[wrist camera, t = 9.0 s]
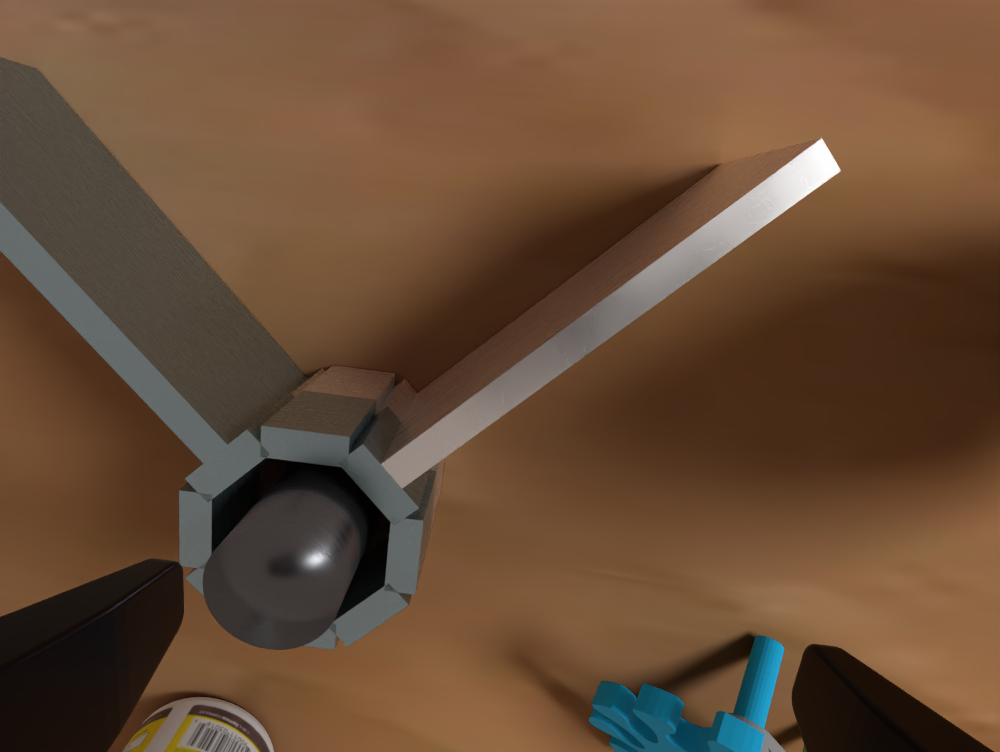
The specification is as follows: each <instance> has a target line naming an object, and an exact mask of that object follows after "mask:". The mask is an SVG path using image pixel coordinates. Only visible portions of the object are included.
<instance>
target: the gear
mask: <svg viewBox="0 0 1000 752" xmlns="http://www.w3.org/2000/svg"><path fill="white" fill-rule="evenodd" d="M783 653H784V647H783V646H782V645H781V644H780V643H779V642H777V641H775V640H774V639H771V638H769V637H766V636H756V637H755V640H754V643H753V646H752V650H751V653H750V657H749V660H748V664H747V667H746V671H745V674H744V678H743V681H742V685H741V688H740V692H739V695H738V699H737V702H736V705H735V709H734V712H733V714H732V713H726V712H722V711H720V712H717V713H716V716H715V719H714V722H713V725H712V727H708V728H703V727H699V726H696V725H694V724H692V723H690V722H688V721H686V720H684V719H683V718H681V717H680V716H681V713H682V710H683V708H684V703H683V702H682V701H681V700H680V699H679V698H678V697H677V696H675V695H673V694H671V693H669V692H667V691H664V690H662V689H659V688H657V687H654V686H651V685H648V684H645V683H643V684H642V687H641V689H640V692H639V695H638V697H637V698H636V696H635V695H634V694H633V693H632V692H631V691H630V690H629V689H627V688H626V687H624V686H623V685H621V684H618V683H614V682H609V681H601V682H600V685H599V687H598V689H597V692H596V694H595V697H594V699H593V701H592V704H591V705H592V706H593V707H594V708H593V711H592V713H591V716H590V718H589V723H591V724H592V725H593V726H595V727H596V728H598V729H600V730H601V731H603V732H605V733H607V734H609V735H611V739H610V741H609V744H610V745H611V747H612V748H613V749H614V750H615V751H616V752H786V751H785V750H784V749H783V748H782V747H781V746H780V745H779V744H778V742H777V741H776V740H775V739H774V738H773V737H772V736H771V735H770V734H769V733H768V732H767V731H766V730H765V729H764V727H765V723H766V719H767V715H768V711H769V707H770V703H771V700H772V696H773V692H774V688H775V684H776V680H777V676H778V672H779V668H780V664H781V660H782V657H783ZM803 752H806V749H805V745H804V748H803Z"/></svg>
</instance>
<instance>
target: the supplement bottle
mask: <svg viewBox="0 0 1000 752" xmlns="http://www.w3.org/2000/svg"><path fill="white" fill-rule="evenodd" d="M122 752H274V750H273V746H272V743H271V740H270V738H269V736H268V734H267V732H266V730H265V729H264V727H263V726H262V725H261V724H260V722H259V721H258V720H257V719H256V718H254V717H253V716H252V715H251V714H250V713H248V712H247V711H245V710H244V709H242V708H240V707H239V706H237V705H235V704H233V703H230V702H227V701H224V700H220V699H215V698H208V697H191V698H185V699H181V700H177V701H174V702H171V703H169V704H167V705H165V706H163V707H161V708H159V709H158V710H156V711H155V712H154V713H152V714H151V715H150V716H149V717H148V718H147V719H146V720H145V721H144V722H143V723H142V725H141V726H140V727H139V729H138V730H137V731H136V733H135V734H134V735H133V737H132V738H131V740H130V741H129V742H128V744H127V745H126V747H125V748H124V749H123V751H122Z"/></svg>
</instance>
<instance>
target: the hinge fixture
mask: <svg viewBox="0 0 1000 752" xmlns="http://www.w3.org/2000/svg"><path fill="white" fill-rule="evenodd" d="M840 171H841V170H840V168H839V167H838V165H837V163H836V162H835V160H834V158H833V157H832V155H831V153H830V151H829V150H828V148H827V146H826V145H825V143H824V141H823V140H822V138H821V139H817V140H813V141H809V142H805V143H801V144H797V145H793V146H789V147H785V148H781V149H777V150H773V151H769V152H765V153H761V154H757V155H754V156H750V157H746V158H742V159H738V160H734V161H730V162H726V163H722V164H720V165H719V166H718V167H716V168H715V169H714V170H712V171H711V172H710V173H708V174H707V175H706V176H704V177H703V178H702V179H700V180H699V181H698V182H696V183H695V184H694V185H693V186H691V187H690V188H689V189H687V190H686V191H685V192H683V193H682V194H681V195H679V196H678V197H677V198H675V199H674V200H673V201H671V202H670V203H669V204H667V205H666V206H665V207H663V208H662V209H661V210H659V211H658V212H657V213H655V214H654V215H653V216H651V217H650V218H649V219H647V220H646V221H645V222H644V223H642V224H641V225H640V226H638V227H637V228H636V229H634V230H633V231H632V232H630V233H629V234H628V235H626V236H625V237H624V238H622V239H621V240H620V241H618V242H617V243H616V244H614V245H613V246H612V247H610V248H609V249H608V250H606V251H605V252H604V253H602V254H601V255H600V256H598V257H597V258H596V259H595V260H593V261H592V262H591V263H589V264H588V265H587V266H585V267H584V268H583V269H581V270H580V271H579V272H577V273H576V274H575V275H573V276H572V277H571V278H569V279H568V280H567V281H565V282H564V283H563V284H561V285H560V286H559V287H557V288H556V289H555V290H553V291H552V292H551V293H549V294H548V295H547V296H546V297H544V298H543V299H542V300H540V301H539V302H538V303H536V304H535V305H534V306H532V307H531V308H530V309H528V310H527V311H526V312H524V313H523V314H522V315H520V316H519V317H518V318H516V319H515V320H514V321H512V322H511V323H510V324H508V325H507V326H506V327H504V328H503V329H502V330H500V331H499V332H498V333H497V334H495V335H494V336H493V337H491V338H490V339H489V340H487V341H486V342H485V343H483V344H482V345H481V346H479V347H478V348H477V349H475V350H474V351H473V352H471V353H470V354H469V355H467V356H466V357H465V358H463V359H462V360H461V361H459V362H458V363H457V364H455V365H454V366H453V367H451V368H450V369H449V370H448V371H446V372H445V373H444V374H442V375H441V376H440V377H438V378H437V379H436V380H434V381H433V382H432V383H430V384H429V385H428V386H426V387H425V388H424V389H422V390H421V391H420V392H418V393H417V392H416V391H415V390H414V389H413V388H412V386H411V385H410V384H409V383H408V382H407V380H406V379H404V380H402V381H401V382H400V383H398V384H397V385H396V386H394V384H395V373H389V372H381V371H373V370H366V369H358V368H350V367H342V366H335V365H332V366H331V367H330V368H329V369H328V370H327V371H325V370H324V369H323V368H322V369H321V370H319V371H318V372H317V373H316V374H314V375H313V376H312V377H311V378H309V379H308V378H307V377H306V376H305V375H304V374H303V373H302V372H301V370H300V369H299V368H298V367H297V366H296V365H295V364H294V362H293V361H292V360H291V359H290V358H289V357H288V356H287V354H286V353H285V352H284V351H283V350H282V349H281V348H280V346H279V345H278V344H277V343H276V342H275V341H274V340H273V338H272V337H271V336H270V335H269V334H268V333H267V332H266V330H265V329H264V328H263V327H262V326H261V325H260V324H259V322H258V321H257V320H256V319H255V318H254V317H253V316H252V314H251V313H250V312H249V311H248V310H247V309H246V308H245V306H244V305H243V304H242V303H241V302H240V301H239V300H238V298H237V297H236V296H235V295H234V294H233V293H232V292H231V290H230V289H229V288H228V287H227V286H226V285H225V284H224V282H223V281H222V280H221V279H220V278H219V277H218V276H217V274H216V273H215V272H214V271H213V270H212V269H211V268H210V266H209V265H208V264H207V263H206V262H205V261H204V260H203V258H202V257H201V256H200V255H199V254H198V253H197V252H196V250H195V249H194V248H193V247H192V246H191V245H190V244H189V242H188V241H187V240H186V239H185V238H184V237H183V236H182V234H181V233H180V232H179V231H178V230H177V229H176V228H175V226H174V225H173V224H172V223H171V222H170V221H169V220H168V218H167V217H166V216H165V215H164V214H163V213H162V212H161V210H160V209H159V208H158V207H157V206H156V205H155V204H154V202H153V201H152V200H151V199H150V198H149V197H148V196H147V194H146V193H145V192H144V191H143V190H142V189H141V188H140V186H139V185H138V184H137V183H136V182H135V181H134V180H133V178H132V177H131V176H130V175H129V174H128V173H127V172H126V170H125V169H124V168H123V167H122V166H121V165H120V164H119V162H118V161H117V160H116V159H115V158H114V157H113V156H112V154H111V153H110V152H109V151H108V150H107V149H106V148H105V146H104V145H103V144H102V143H101V142H100V141H99V140H98V138H97V137H96V136H95V135H94V134H93V133H92V132H91V130H90V129H89V128H88V127H87V126H86V125H85V124H84V122H83V121H82V120H81V119H80V118H79V117H78V116H77V114H76V113H75V112H74V111H73V110H72V109H71V108H70V106H69V105H68V104H67V103H66V102H65V101H64V100H63V98H62V97H61V96H60V95H59V94H58V93H57V92H56V90H55V89H54V88H53V87H52V86H51V85H50V84H49V82H48V81H47V80H46V79H45V78H44V77H43V76H42V74H41V73H40V72H39V71H38V70H37V69H36V68H33V67H30V66H27V65H24V64H20V63H17V62H14V61H11V60H8V59H5V58H2V57H0V251H1V252H2V253H3V254H4V255H5V256H6V257H7V258H8V259H9V260H10V261H11V262H12V263H13V264H14V265H15V267H16V268H17V269H18V270H19V271H20V272H21V273H22V274H23V275H24V276H25V277H26V278H27V279H28V280H29V281H30V282H31V283H32V284H33V285H34V286H35V288H36V289H37V290H38V291H39V292H40V293H41V294H42V295H43V296H44V297H45V298H46V299H47V300H48V301H49V302H50V303H51V304H52V305H53V306H54V307H55V308H56V310H57V311H58V312H59V313H60V314H61V315H62V316H63V317H64V318H65V319H66V320H67V321H68V322H69V323H70V324H71V325H72V326H73V327H74V328H75V329H76V331H77V332H78V333H79V334H80V335H81V336H82V337H83V338H84V339H85V340H86V341H87V342H88V343H89V344H90V345H91V346H92V347H93V348H94V349H95V350H96V351H97V353H98V354H99V355H100V356H101V357H102V358H103V359H104V360H105V361H106V362H107V363H108V364H109V365H110V366H111V367H112V368H113V369H114V370H115V371H116V372H117V373H118V375H119V376H120V377H121V378H122V379H123V380H124V381H125V382H126V383H127V384H128V385H129V386H130V387H131V388H132V389H133V390H134V391H135V392H136V393H137V394H138V396H139V397H140V398H141V399H142V400H143V401H144V402H145V403H146V404H147V405H148V406H149V407H150V408H151V409H152V410H153V411H154V412H155V413H156V414H157V415H158V416H159V418H160V419H161V420H162V421H163V422H164V423H165V424H166V425H167V426H168V427H169V428H170V429H171V430H172V431H173V432H174V433H175V434H176V435H177V436H178V437H179V438H180V440H181V441H182V442H183V443H184V444H185V445H186V446H187V447H188V448H189V449H190V450H191V451H192V452H193V453H194V454H195V455H196V456H197V457H198V458H199V459H200V461H201V462H202V463H203V464H202V465H201V466H200V467H198V468H197V469H196V470H195V471H194V472H192V473H191V474H190V475H189V476H187V477H186V478H185V480H186V481H187V482H188V483H187V484H186V485H185V486H184V487H182V488H181V489H180V490H179V559H180V565H181V566H185V567H193V569H192V571H191V572H190V573H189V574H188V575H187V576H186V577H185V578H186V579H187V580H188V581H189V582H190V583H191V584H192V585H193V586H194V587H195V588H196V589H197V590H198V591H199V592H200V593H201V594H202V595H203V596H204V593H203V583H202V582H203V573H204V569H205V566H206V563H207V561H208V559H209V558H210V556H211V554H212V553H213V552H214V550H215V549H216V548H217V547H218V546H219V545H220V544H221V542H222V541H223V540H224V539H225V538H226V537H227V536H228V534H229V533H230V532H231V531H232V530H233V529H234V528H235V527H236V525H237V524H238V523H239V522H240V521H241V520H242V519H243V517H244V516H245V515H246V514H247V513H248V512H249V511H250V510H251V508H252V507H253V506H254V505H255V504H256V503H257V502H258V500H259V499H260V498H261V497H262V496H263V495H264V494H265V493H266V491H267V490H268V489H269V488H270V487H271V486H272V485H273V483H274V482H275V481H276V480H277V479H278V478H279V477H280V475H281V474H282V473H283V472H284V471H285V470H286V469H287V468H288V466H289V465H290V464H291V463H292V462H293V461H296V462H304V463H312V464H320V465H328V466H336V467H342V468H343V469H344V470H345V471H346V473H347V474H348V475H349V476H350V477H351V478H352V479H353V480H354V482H355V483H356V484H357V485H358V486H359V487H360V488H361V489H362V490H363V492H364V493H365V494H366V495H367V496H368V497H369V498H370V499H371V501H372V502H373V503H374V504H375V505H376V506H377V507H378V508H379V509H380V511H381V513H380V516H379V518H378V520H377V523H376V525H375V527H374V530H373V532H372V534H371V537H370V539H369V541H368V543H367V546H366V548H365V550H364V553H363V555H362V557H361V560H360V562H359V564H358V567H357V569H356V571H355V574H354V576H353V578H352V581H351V583H350V585H349V587H348V590H347V592H346V594H345V597H344V599H343V601H342V604H341V606H340V608H339V611H338V613H337V615H336V617H335V619H334V621H333V623H332V624H331V626H330V627H329V628H328V629H327V630H326V632H325V633H324V634H322V635H321V636H320V637H319V638H317V639H316V640H314V641H312V642H310V643H308V644H306V645H304V646H307V647H315V648H324V649H332V650H335V648H336V645H337V643H338V640H339V639H340V640H341V641H342V642H343V643H344V644H345V645H346V646H347V647H348V646H350V645H351V644H352V643H354V642H355V641H357V640H358V639H360V638H361V637H363V636H364V635H366V634H367V633H369V632H370V631H372V630H373V629H374V628H376V627H377V626H379V625H380V624H382V623H383V622H385V621H386V620H388V619H389V618H391V617H392V616H394V615H395V614H396V613H398V612H399V611H401V610H402V609H404V608H405V607H407V606H408V605H409V603H410V599H411V595H412V594H414V595H415V594H416V590H417V586H418V582H419V578H420V574H421V569H422V565H423V561H424V557H425V553H426V549H427V545H428V541H429V537H430V533H431V529H432V525H433V520H434V516H435V512H436V508H437V504H438V500H439V496H440V492H441V484H442V476H443V467H444V458H445V457H446V456H448V455H449V454H451V453H452V452H453V451H455V450H456V449H458V448H459V447H460V446H462V445H463V444H464V443H466V442H467V441H469V440H470V439H471V438H473V437H474V436H475V435H477V434H478V433H480V432H481V431H482V430H484V429H485V428H486V427H488V426H489V425H491V424H492V423H493V422H495V421H496V420H498V419H499V418H500V417H502V416H503V415H504V414H506V413H507V412H509V411H510V410H511V409H513V408H514V407H515V406H517V405H518V404H520V403H521V402H522V401H524V400H525V399H526V398H528V397H529V396H531V395H532V394H533V393H535V392H536V391H538V390H539V389H540V388H542V387H543V386H544V385H546V384H547V383H549V382H550V381H551V380H553V379H554V378H555V377H557V376H558V375H560V374H561V373H562V372H564V371H565V370H566V369H568V368H569V367H571V366H572V365H573V364H575V363H576V362H578V361H579V360H580V359H582V358H583V357H584V356H586V355H587V354H589V353H590V352H591V351H593V350H594V349H595V348H597V347H598V346H600V345H601V344H602V343H604V342H605V341H607V340H608V339H609V338H611V337H612V336H613V335H615V334H616V333H618V332H619V331H620V330H622V329H623V328H624V327H626V326H627V325H629V324H630V323H631V322H633V321H634V320H635V319H637V318H638V317H640V316H641V315H642V314H644V313H645V312H647V311H648V310H649V309H651V308H652V307H653V306H655V305H656V304H658V303H659V302H660V301H662V300H663V299H664V298H666V297H667V296H669V295H670V294H671V293H673V292H674V291H675V290H677V289H678V288H680V287H681V286H682V285H684V284H685V283H687V282H688V281H689V280H691V279H692V278H693V277H695V276H696V275H698V274H699V273H700V272H702V271H703V270H704V269H706V268H707V267H709V266H710V265H711V264H713V263H714V262H715V261H717V260H718V259H720V258H721V257H722V256H724V255H725V254H727V253H728V252H729V251H731V250H732V249H733V248H735V247H736V246H738V245H739V244H740V243H742V242H743V241H744V240H746V239H747V238H749V237H750V236H751V235H753V234H754V233H755V232H757V231H758V230H760V229H761V228H762V227H764V226H765V225H767V224H768V223H769V222H771V221H772V220H773V219H775V218H776V217H778V216H779V215H780V214H782V213H783V212H784V211H786V210H787V209H789V208H790V207H791V206H793V205H794V204H795V203H797V202H798V201H800V200H801V199H802V198H804V197H805V196H807V195H808V194H809V193H811V192H812V191H813V190H815V189H816V188H818V187H819V186H820V185H822V184H823V183H824V182H826V181H827V180H829V179H830V178H831V177H833V176H834V175H836V174H837V173H838V172H840Z"/></svg>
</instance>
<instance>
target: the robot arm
mask: <svg viewBox="0 0 1000 752" xmlns="http://www.w3.org/2000/svg"><path fill="white" fill-rule="evenodd" d="M183 614H184V591H183V569H182V566H181V565H180V564H179V563H178V562H176V561H169V560H162V559H148V560H145V561H142V562H140V563H137V564H135V565H132V566H130V567H127V568H125V569H122V570H119V571H117V572H114V573H112V574H109V575H107V576H104V577H101V578H99V579H96V580H94V581H91V582H89V583H86V584H84V585H81V586H78V587H76V588H73V589H71V590H68V591H66V592H63V593H61V594H58V595H55V596H53V597H50V598H48V599H45V600H43V601H40V602H38V603H35V604H32V605H30V606H27V607H25V608H22V609H20V610H17V611H14V612H12V613H9V614H7V615H4V616H2V617H0V752H107V751H108V750H109V748H110V747H111V745H112V744H113V742H114V741H115V739H116V738H117V736H118V735H119V733H120V732H121V730H122V728H123V727H124V725H125V723H126V722H127V720H128V718H129V717H130V715H131V713H132V712H133V710H134V708H135V706H136V704H137V703H138V701H139V699H140V697H141V696H142V694H143V692H144V690H145V688H146V687H147V685H148V683H149V681H150V680H151V678H152V676H153V674H154V672H155V671H156V669H157V667H158V665H159V664H160V662H161V660H162V658H163V656H164V655H165V653H166V651H167V649H168V648H169V646H170V644H171V642H172V641H173V639H174V637H175V635H176V633H177V632H178V630H179V628H180V625H181V623H182V619H183ZM792 706H793V710H794V714H795V717H796V720H797V723H798V726H799V730H800V733H801V736H802V739H803V742H804V745H805V749H806V752H994V751H992V750H991V749H989V748H988V747H986V746H985V745H983V744H982V743H980V742H979V741H977V740H976V739H974V738H973V737H971V736H970V735H969V734H967V733H966V732H964V731H963V730H961V729H960V728H958V727H957V726H955V725H954V724H952V723H951V722H949V721H948V720H946V719H945V718H943V717H942V716H940V715H939V714H938V713H936V712H935V711H933V710H932V709H930V708H929V707H927V706H926V705H924V704H923V703H921V702H920V701H918V700H917V699H915V698H914V697H912V696H911V695H909V694H908V693H906V692H905V691H904V690H902V689H901V688H899V687H898V686H896V685H895V684H893V683H892V682H890V681H889V680H887V679H886V678H884V677H883V676H881V675H880V674H878V673H877V672H875V671H874V670H872V669H871V668H870V667H868V666H867V665H865V664H864V663H862V662H861V661H859V660H858V659H856V658H855V657H853V656H852V655H850V654H849V653H847V652H846V651H844V650H843V649H841V648H838V647H834V646H827V645H819V644H811V645H809V646H807V648H806V649H805V651H804V653H803V656H802V660H801V663H800V666H799V669H798V673H797V676H796V679H795V683H794V686H793V690H792Z"/></svg>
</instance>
